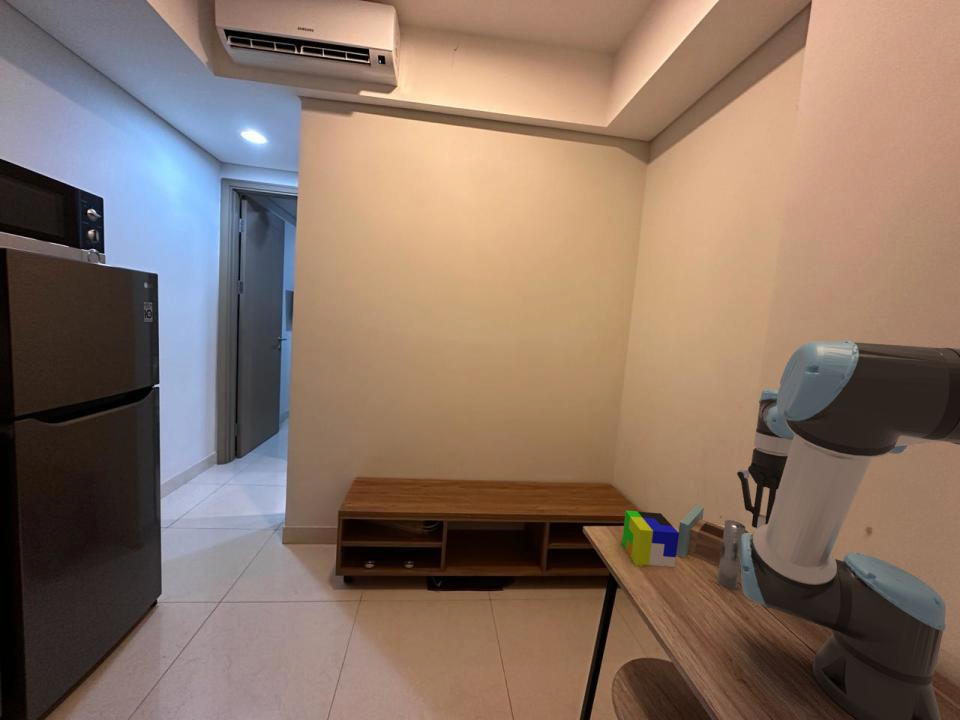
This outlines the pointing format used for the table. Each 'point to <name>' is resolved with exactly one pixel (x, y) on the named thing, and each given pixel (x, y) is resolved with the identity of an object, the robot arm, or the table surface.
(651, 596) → the table surface
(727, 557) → the dowel
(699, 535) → the brown wooden box
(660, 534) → the puzzle toy
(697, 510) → the backstop
